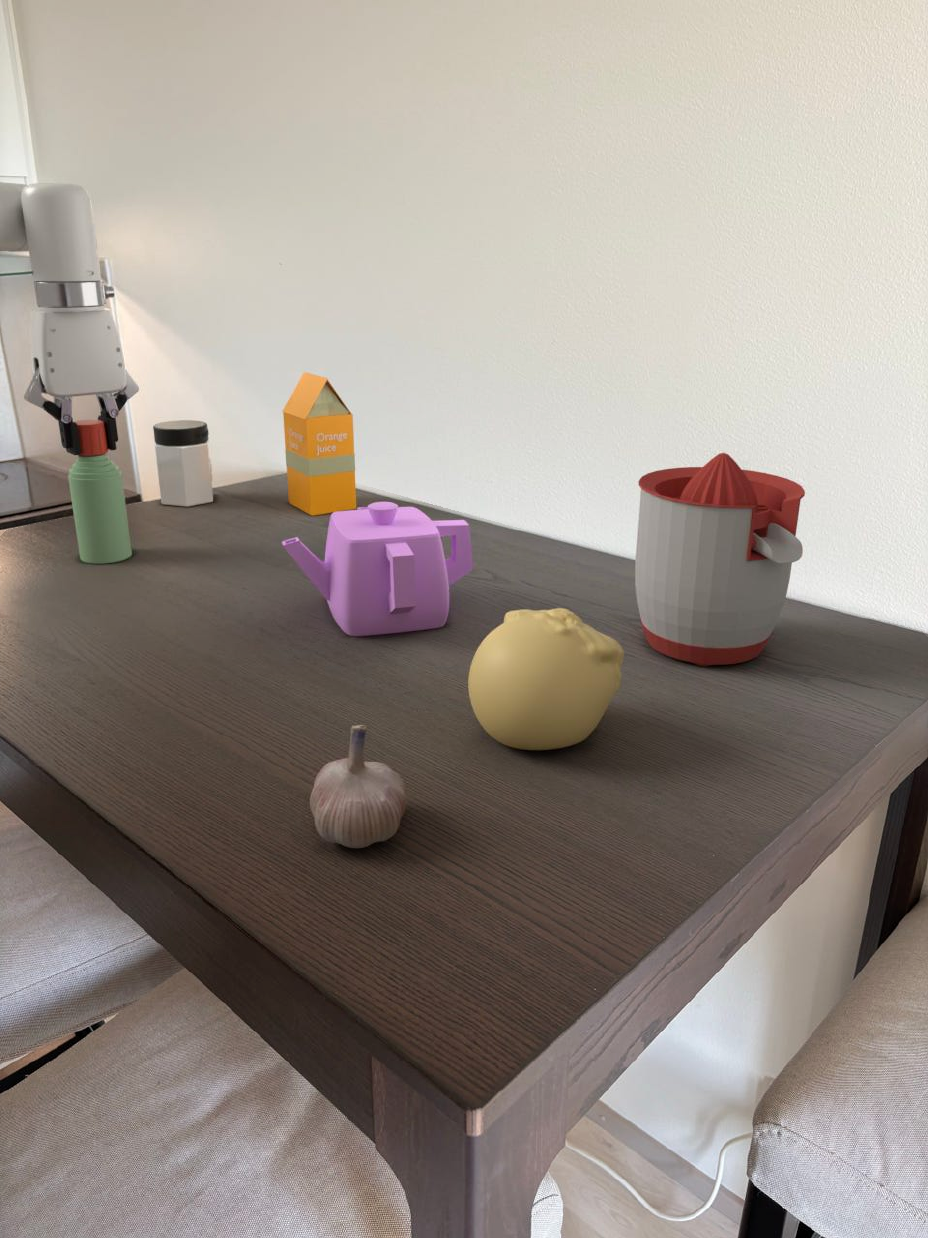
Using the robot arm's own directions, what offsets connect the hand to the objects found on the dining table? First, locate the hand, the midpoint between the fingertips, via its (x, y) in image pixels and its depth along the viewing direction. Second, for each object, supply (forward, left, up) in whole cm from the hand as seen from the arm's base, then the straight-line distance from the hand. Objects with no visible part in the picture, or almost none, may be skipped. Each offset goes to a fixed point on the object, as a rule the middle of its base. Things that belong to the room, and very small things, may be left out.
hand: (91, 449), depth 120 cm
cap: (0, 0, 0) cm, 0 cm away
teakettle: (+41, -10, -14) cm, 45 cm away
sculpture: (+63, -34, -14) cm, 73 cm away
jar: (-4, +29, -14) cm, 33 cm away
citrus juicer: (+77, -12, -14) cm, 79 cm away
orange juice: (+18, +31, -14) cm, 39 cm away
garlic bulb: (+53, -51, -14) cm, 75 cm away
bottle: (0, 0, -14) cm, 14 cm away
